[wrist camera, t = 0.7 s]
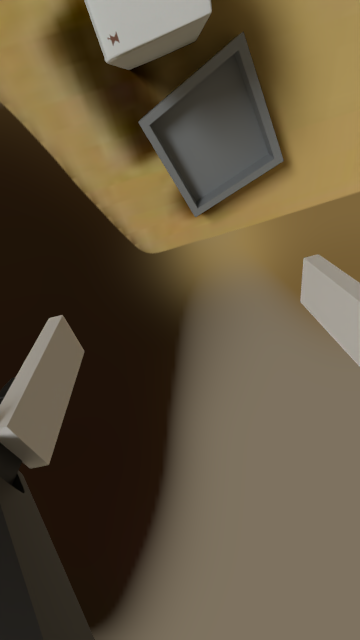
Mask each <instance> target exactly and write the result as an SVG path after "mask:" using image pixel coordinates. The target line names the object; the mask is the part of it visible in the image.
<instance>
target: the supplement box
mask: <svg viewBox="0 0 360 640" xmlns="http://www.w3.org/2000/svg"><path fill="white" fill-rule="evenodd" d="M84 1H85V4H86V6H87V9H88V12H89V15H90V18H91V20H92V23H93V26H94V29H95V32H96V35H97V38H98V40H99V43H100V46H101V49H102V52H103V55H104V58H105V61H106V62H107V63H108V64H111V65H114V66H118V67H121V68H124V69H127V70H131V69H133V68H135V67H138V66H140V65H143V64H145V63H148V62H150V61H152V60H155V59H157V58H160V57H162V56H164V55H166V54H169V53H171V52H173V51H175V50H177V49H180V48H182V47H184V46H186V45H188V44H191V43H193V42H195V41H196V40H197V38H198V36H199V34H200V33H201V31H202V29H203V27H204V25H205V23H206V22H207V20H208V18H209V16H210V14H211V13H212V5H211V0H84Z"/></svg>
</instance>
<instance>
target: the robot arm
mask: <svg viewBox="0 0 360 640" xmlns="http://www.w3.org/2000/svg"><path fill="white" fill-rule="evenodd" d="M301 303H302V304H303V305H304V306H305V307H306V309H307V310H308V311H309V312H310V313H311V314H312V315H313V316H314V317H315V318H316V320H317V321H318V322H319V323H320V324H321V325H322V326H323V327H324V328H325V329H326V330H327V332H328V333H329V334H330V335H331V336H332V337H333V338H334V339H335V340H336V341H337V343H338V344H339V345H340V346H341V347H342V348H343V349H344V350H345V351H346V352H347V353H348V355H349V356H350V357H351V358H352V359H353V360H354V361H355V362H356V363H357V364H358V366H359V367H360V283H359V282H357V281H356V280H355V279H353V278H352V277H350V276H349V275H348V274H346V273H345V272H343V271H342V270H340V269H339V268H337V267H336V266H335V265H333V264H331V263H330V262H329V261H327V260H326V259H324V258H323V257H322V256H320V255H314V256H310V257H306V258H304V260H303V274H302V287H301ZM83 354H84V350H83V348H82V347H81V345H80V343H79V342H78V340H77V338H76V337H75V335H74V333H73V332H72V330H71V328H70V327H69V325H68V323H67V322H66V320H65V318H64V316H63V315H61V316H57V317H52V318H49V320H48V321H47V323H46V325H45V327H44V328H43V330H42V332H41V334H40V336H39V337H38V339H37V341H36V342H35V344H34V346H33V348H32V349H31V351H30V353H29V355H28V357H27V358H26V360H25V362H24V364H23V366H22V367H21V369H20V371H19V372H18V374H17V376H16V377H15V378H12V379H11V380H10V381H9V382H8V383H7V384H6V385H5V386H4V387H3V388H2V390H1V391H0V640H95V639H94V637H93V635H92V633H91V631H90V628H89V626H88V624H87V621H86V619H85V617H84V614H83V612H82V610H81V607H80V605H79V603H78V600H77V598H76V596H75V594H74V591H73V589H72V587H71V584H70V582H69V580H68V578H67V575H66V573H65V571H64V568H63V566H62V564H61V562H60V560H59V557H58V555H57V552H56V550H55V548H54V545H53V543H52V541H51V539H50V536H49V534H48V532H47V529H46V527H45V525H44V523H43V520H42V518H41V516H40V513H39V511H38V509H37V507H36V504H35V502H34V500H33V497H32V495H31V493H30V491H29V488H28V486H27V484H26V482H25V479H24V477H23V475H22V474H21V473H20V472H19V471H18V470H19V468H20V465H21V463H22V462H23V463H24V464H26V465H27V466H28V467H29V468H35V467H40V466H45V465H48V464H49V462H50V459H51V456H52V453H53V450H54V446H55V443H56V440H57V437H58V434H59V430H60V427H61V424H62V421H63V418H64V415H65V411H66V408H67V405H68V402H69V399H70V395H71V392H72V389H73V386H74V382H75V379H76V376H77V373H78V370H79V367H80V363H81V360H82V357H83Z"/></svg>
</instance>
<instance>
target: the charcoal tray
mask: <svg viewBox="0 0 360 640" xmlns="http://www.w3.org/2000/svg"><path fill="white" fill-rule="evenodd" d="M138 123H139V124H140V126H141V128H142V129H143V131H144V133H145V134H146V136H147V138H148V139H149V141H150V143H151V144H152V146H153V148H154V149H155V151H156V153H157V154H158V156H159V158H160V159H161V161H162V163H163V164H164V166H165V168H166V169H167V171H168V172H169V174H170V176H171V177H172V179H173V181H174V182H175V184H176V186H177V187H178V189H179V191H180V192H181V194H182V196H183V197H184V199H185V201H186V202H187V204H188V206H189V207H190V209H191V211H192V212H193V214H194V216H195V217H197V216H198V215H200V214H201V213H203V212H204V211H206V210H208V209H209V208H211V207H212V206H214V205H215V204H217V203H219V202H220V201H222V200H223V199H225V198H226V197H228V196H230V195H231V194H233V193H234V192H236V191H237V190H239V189H241V188H242V187H244V186H245V185H247V184H248V183H250V182H251V181H253V180H255V179H256V178H258V177H259V176H261V175H262V174H264V173H266V172H267V171H269V170H270V169H272V168H273V167H275V166H277V165H278V164H280V163H281V162H283V161H284V160H283V157H282V154H281V150H280V147H279V144H278V141H277V138H276V134H275V131H274V128H273V125H272V122H271V118H270V115H269V112H268V109H267V106H266V102H265V99H264V96H263V93H262V90H261V86H260V83H259V80H258V77H257V74H256V70H255V67H254V64H253V61H252V58H251V54H250V51H249V48H248V45H247V41H246V38H245V35H244V32H242V33H240V34H239V35H237V36H236V37H235V38H234V39H233V40H231V41H230V42H229V43H228V44H227V45H226V46H225V47H223V48H222V49H221V50H220V51H219V52H218V53H216V54H215V55H214V56H213V57H212V58H211V59H210V60H208V61H207V62H206V63H205V64H204V65H203V66H201V67H200V68H199V69H198V70H197V71H196V72H195V73H193V74H192V75H191V76H190V77H189V78H188V79H187V80H185V81H184V82H183V83H182V84H181V85H180V86H178V87H177V88H176V89H175V90H174V91H173V92H172V93H170V94H169V95H168V96H167V97H166V98H165V99H163V100H162V101H161V102H160V103H159V104H158V105H157V106H155V107H154V108H153V109H152V110H151V111H150V112H149V113H147V114H146V115H145V116H144V117H143V118H142V119H141V120H140V121H139V122H138Z"/></svg>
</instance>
